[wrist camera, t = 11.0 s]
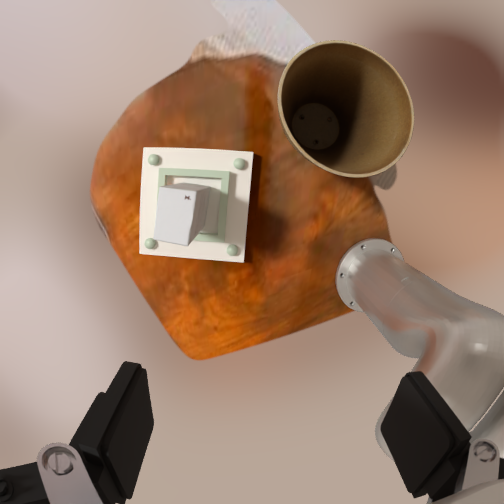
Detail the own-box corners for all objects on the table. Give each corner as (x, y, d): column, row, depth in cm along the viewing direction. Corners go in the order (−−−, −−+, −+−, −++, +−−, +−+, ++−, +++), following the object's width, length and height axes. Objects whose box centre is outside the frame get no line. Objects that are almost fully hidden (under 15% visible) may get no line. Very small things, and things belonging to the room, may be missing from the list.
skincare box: (182, 181, 41) (159, 184, 30) (211, 186, 41) (198, 190, 30) (176, 223, 43) (151, 240, 31) (204, 228, 43) (189, 247, 31)
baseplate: (253, 153, 42) (253, 151, 39) (243, 259, 46) (243, 264, 43) (146, 148, 41) (141, 146, 39) (142, 251, 45) (137, 255, 42)
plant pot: (262, 171, 42) (272, 167, 27) (270, 76, 39) (282, 29, 23) (358, 182, 43) (411, 187, 28) (364, 91, 39) (413, 60, 24)
